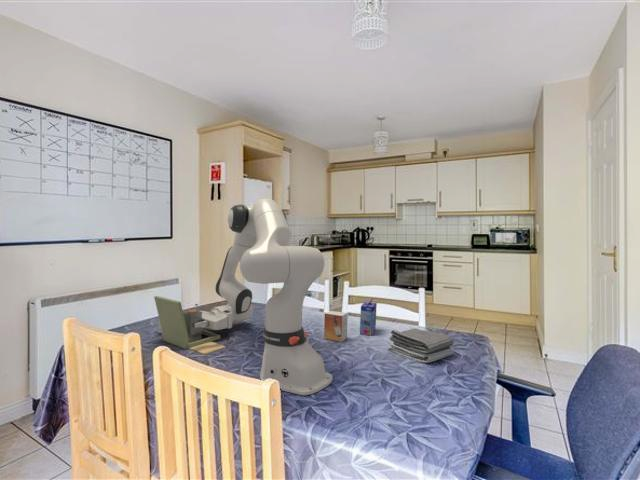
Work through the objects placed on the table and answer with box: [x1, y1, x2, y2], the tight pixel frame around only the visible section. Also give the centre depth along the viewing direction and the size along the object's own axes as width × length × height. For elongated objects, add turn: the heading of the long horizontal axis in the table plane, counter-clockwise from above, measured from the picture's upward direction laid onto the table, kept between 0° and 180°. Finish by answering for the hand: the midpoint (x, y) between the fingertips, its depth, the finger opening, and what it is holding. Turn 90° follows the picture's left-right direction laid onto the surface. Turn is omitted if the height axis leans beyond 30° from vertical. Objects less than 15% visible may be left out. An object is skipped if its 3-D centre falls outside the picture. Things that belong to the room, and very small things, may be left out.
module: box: [183, 309, 203, 343], centre depth 133 cm, size 5×5×12 cm
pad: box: [189, 341, 226, 356], centre depth 124 cm, size 9×9×1 cm
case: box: [153, 295, 221, 350], centre depth 133 cm, size 17×18×18 cm
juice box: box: [359, 298, 378, 337], centre depth 145 cm, size 10×6×14 cm, turn 161°
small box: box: [323, 310, 349, 343], centre depth 136 cm, size 8×6×10 cm
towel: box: [387, 328, 455, 364], centre depth 121 cm, size 15×18×8 cm
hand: (189, 324), depth 132 cm, fingers closed on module, 5 cm apart
